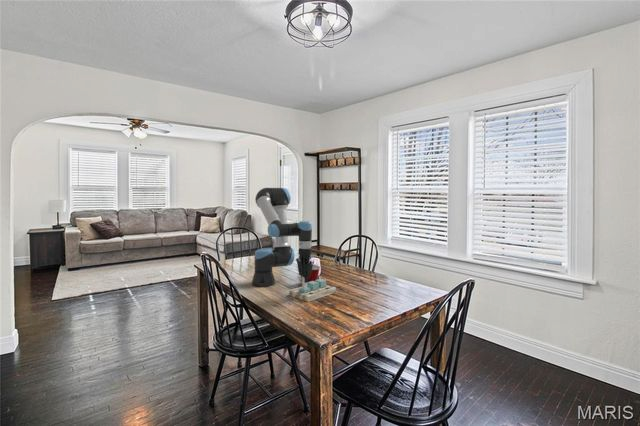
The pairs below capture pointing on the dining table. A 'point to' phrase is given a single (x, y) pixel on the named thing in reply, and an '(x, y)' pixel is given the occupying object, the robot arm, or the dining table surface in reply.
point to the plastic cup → (314, 273)
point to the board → (312, 293)
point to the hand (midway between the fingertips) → (304, 287)
